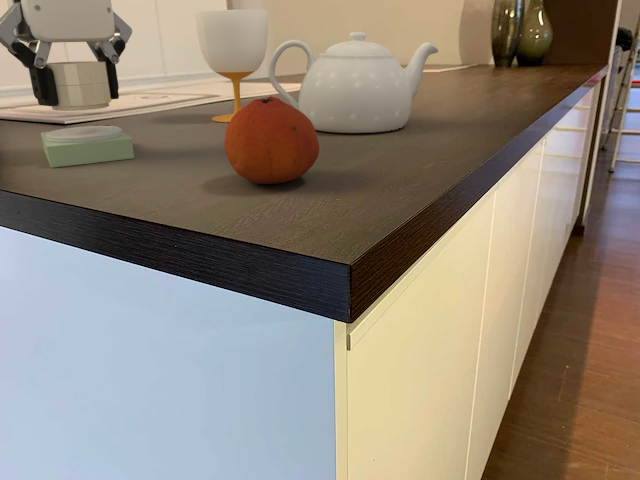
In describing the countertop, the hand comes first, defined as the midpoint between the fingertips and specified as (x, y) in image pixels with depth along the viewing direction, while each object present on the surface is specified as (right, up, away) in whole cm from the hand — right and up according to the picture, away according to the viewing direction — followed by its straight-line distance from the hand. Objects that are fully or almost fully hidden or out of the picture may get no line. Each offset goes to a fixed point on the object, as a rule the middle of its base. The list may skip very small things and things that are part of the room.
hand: (80, 100), depth 63 cm
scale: (0, -6, +3) cm, 7 cm away
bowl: (0, -1, 0) cm, 1 cm away
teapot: (+33, +1, +21) cm, 39 cm away
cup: (+14, +4, +30) cm, 33 cm away
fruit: (+24, -11, -10) cm, 28 cm away
